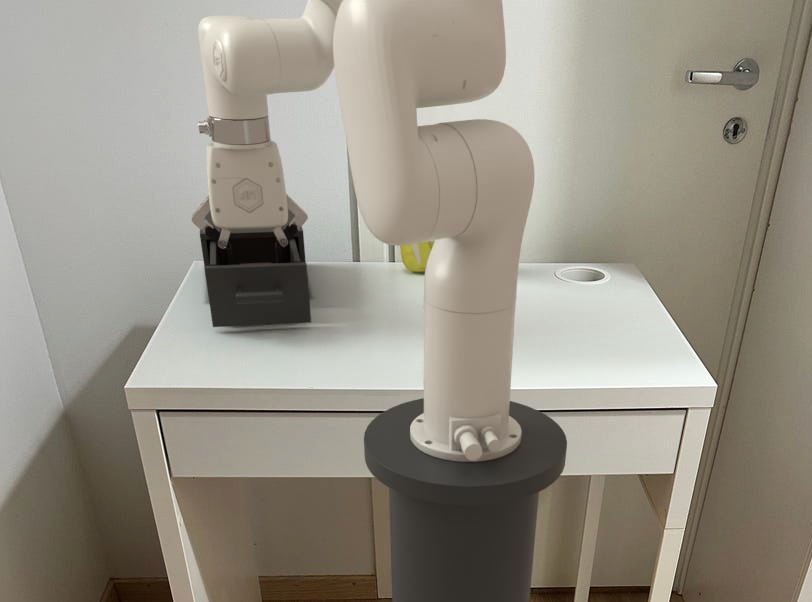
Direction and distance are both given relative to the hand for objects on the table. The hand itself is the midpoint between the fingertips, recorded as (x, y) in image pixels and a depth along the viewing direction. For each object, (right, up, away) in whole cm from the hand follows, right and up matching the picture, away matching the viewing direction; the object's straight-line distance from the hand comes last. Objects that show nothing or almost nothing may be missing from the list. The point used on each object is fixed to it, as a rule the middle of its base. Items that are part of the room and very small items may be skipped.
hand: (256, 273), depth 129 cm
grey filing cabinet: (-3, +5, +15) cm, 16 cm away
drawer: (0, -4, +2) cm, 5 cm away
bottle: (+25, +9, +21) cm, 34 cm away
